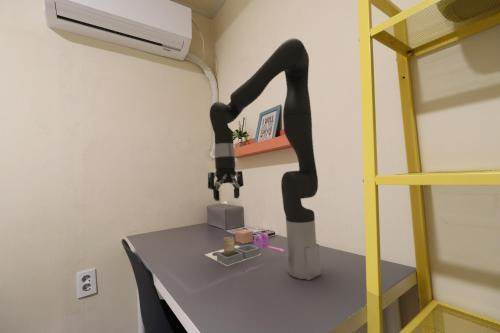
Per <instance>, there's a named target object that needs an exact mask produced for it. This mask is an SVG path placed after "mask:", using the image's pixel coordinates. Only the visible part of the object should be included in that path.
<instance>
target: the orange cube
mask: <svg viewBox="0 0 500 333" xmlns="http://www.w3.org/2000/svg"><path fill="white" fill-rule="evenodd" d="M234 234H235V237H234V238H235V242H236V243H240V244H247V243H254V231H252V230H250V229H247V228H246V229H245V228H244V229H241V230H238V231H235V232H234Z"/></svg>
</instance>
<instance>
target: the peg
mask: <svg viewBox="0 0 500 333" xmlns="http://www.w3.org/2000/svg"><path fill="white" fill-rule="evenodd" d="M235 246H236V245H235V237H233V236H226V237H223V249H224V256H226V257H229V256H233V255H235Z"/></svg>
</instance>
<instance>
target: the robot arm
mask: <svg viewBox="0 0 500 333" xmlns="http://www.w3.org/2000/svg"><path fill="white" fill-rule="evenodd" d="M309 64H310V59H309V54H308V52H307V48H306V47H305V45H304V43H303V42H302V41H301V40H300V39H298V38H294V37H293V38H289V39H286V40H284V42H282V43H281V44H280V45H279V46H278V48H277V49H276V50H275V51H274V52H273V53H272V54H271V55H270V56H269V57H268V59H267V60H266V61H265V62H264V63H263V64H262V65H261V66H260V67H259V68H258V69H257V71H256V72H254V74H252V76H251V77H250V78H249V79H247V80H246V81H245V82H244V83H242V84H241V85H240V86H239V87H238V88H237V89H235V90H234V91H233V92H231V94H230V97H229V98H230V102H229V103H227V104H226V103H223V102H220V101H215V102H213V103H212V104H211V106H210V108H209V119H210V123H211V128H212V130H213V133H214V167H215V172H213V171H209V172H208V173H207V189H208V190H212V192H213V193H212V194H213V200H215V201H216V202H218V201H220V198H221V197H220V190H219V189H220V188H221V186H222V185H223V184H230V185H232V186H233V198H234V199H239V197H240V188H241V187H244V178H243V170H237V171H236V154H235V152H236V151H235V144H234V132H233V130H232V129H231V128H230V127H229V125H228V124H231V123H233V122H234V121H235V120H236V119H237V118H238V117H239V116H240V115H241V113H242V111H244V110H245V109H246V108H247V107H248V106H249V105H251V104H253V103H254V102H255V101H256V100H257V99H258V98H259V97H260V96H261V94H263V92H264V91H265V89H266V88H267V87H268V85H269V84H270V83H271V82H272V81H273V80H274V78H276V77H277V76H278V75H279V74H281V73H283V72H284V75H285V76H284V77H285V84H286V96H285V100H284V103H283V104H284V105H283V110H282V119H283V120H282V121H283V134H284V135H285V137H286V139H287V141H288V143H289V144H290V146H291V147H292V149H293V151H294V152H295V154H296V157H297V161H298V170H291V171H290V170H289V171H285V172H284V173H283V174H282V177H281V182H280V183H281V184H280V185H281V186H280V187H281V197H282V206H283V212H284V214H285V226H286V244H287V245H286V246H287V259H288V260H287V261H288V273H289V275H290V276H291V277H293V278H294V279H295V278H296V279H299V280H307V281H311V280H312V279H314V278H317V277H318V276H320V275H321V274H322V268H321V267H322V266H321V257H320V256H321V255H320V253H321V252H320V244H319V243H317V237H316V236H317V235H316V232H317V231H316V219H315V212H314V210H312V209H309V208H307V207H304V206H303V205H302V204H303V203H302V200H303V199H309V198H313V197H315V196H316V194H317V192H318V188H319V178H318V171H317V166H316V160H315V159H316V157H315V153H314V142H313V123H312V121H313V120H312V118H313V117H312V109H311V99H310V92H309V71H310V70H309V67H310V65H309ZM215 179H216V180H215Z"/></svg>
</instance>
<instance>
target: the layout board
mask: <svg viewBox="0 0 500 333" xmlns="http://www.w3.org/2000/svg"><path fill="white" fill-rule="evenodd" d="M260 250H261V249H260V248H258V247H255V246H254V245H252V244H250V243H249V244H245V245H241V246H240V245H235V255H233V256H229V257H226V256H224V248H223V249H219V250H216V251H212V252H209V253H206V254H204V256H206V257H208V258H210V259H212V260H214V261H216V262H217V263H220V264H221V265H224V266H226V267H229V266H232V265H235V264H239V263H242V262H244V261H246V260H249V259H253V258H256V257H258V256H261V255H262V254H261V251H260Z"/></svg>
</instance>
